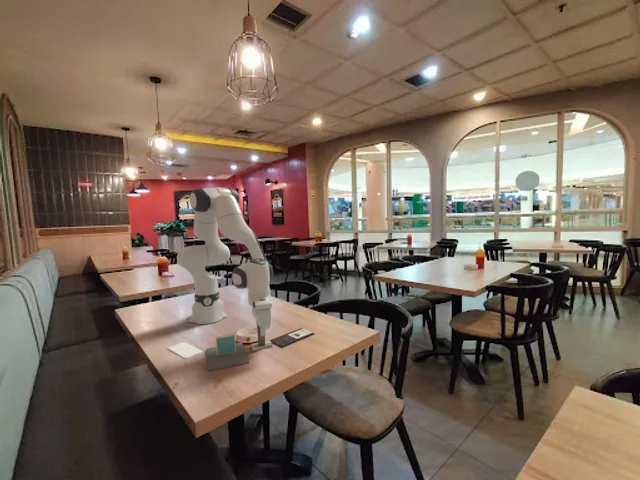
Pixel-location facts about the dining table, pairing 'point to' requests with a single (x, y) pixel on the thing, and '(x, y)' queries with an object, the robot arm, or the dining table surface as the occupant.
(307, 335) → the chocolate bar
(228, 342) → the tile
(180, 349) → the white flat slab
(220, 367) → the mat
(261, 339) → the stamp
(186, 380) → the dining table surface
